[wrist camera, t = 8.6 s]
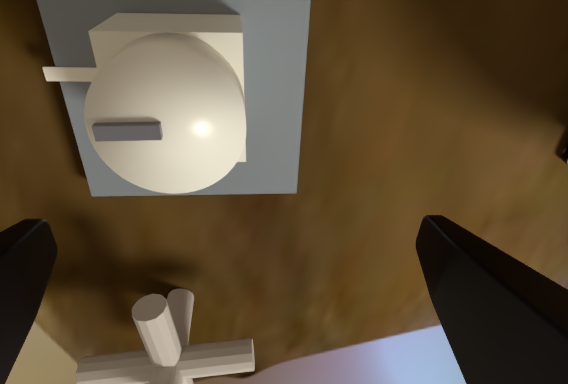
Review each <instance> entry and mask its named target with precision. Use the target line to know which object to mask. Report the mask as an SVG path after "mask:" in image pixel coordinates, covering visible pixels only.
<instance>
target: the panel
mask: <svg viewBox="0 0 568 384" xmlns="http://www.w3.org/2000/svg"><path fill="white" fill-rule="evenodd" d="M310 2H311V0H37V3H38V7H39V11H40V14H41V18H42V21H43V25H44V28H45V32H46V35H47V39H48V42H49V46H50V49H51V53H52V57H53V60H54V64H55V67H42V68H43V71H44V75H45V78H46V81H60V85H61V88H62V92H63V95H64V99H65V103H66V106H67V110H68V113H69V117H70V120H71V124H72V127H73V131H74V134H75V138H76V142H77V145H78V149H79V152H80V156H81V159H82V163H83V166H84V170H85V173H86V177H87V180H88V184H89V188H90V191H91V195H92V196H147V195H212V194H276V193H296V192H297V178H298V165H299V151H300V138H301V124H302V110H303V97H304V83H305V70H306V56H307V42H308V29H309V15H310ZM116 13H163V14H226V15H241V23H242V31H243V63H244V101H245V115H246V162H237V163H236V164H235V166H234V167H233V168H232V169H231V170H230V171H229V173H228V174H227V175H225V176H224V177H223V178H222V179H221V180H219V181H217V182H216V183H214V184H213V185H210V186H208V187H206V188H204V189H201V190H198V191H193V192H189V193H179V194H170V193H160V192H155V191H151V190H147V189H144V188H141V187H139V186H137V185H134V184H132V183H130V182H129V181H127V180H125V179H123V178H122V177H121V176H119V175H118V174H116V173H115V172H114V171H113V170H112V169H111V168H109V167H108V166H107V165H106V164H105V162H104V161H103V160H102V159H101V158H100V156H99V155H98V153H97V152H96V151H95V149H94V147H93V145H92V143H91V141H90V139H89V136H88V133H87V130H86V126H85V121H84V105H85V99H86V95H87V91H88V89H89V87H90V85H91V82H92V81H93V79H94V78H95V76H96V75H97V73H98V70H97V66H96V62H95V58H94V53H93V49H92V45H91V41H90V37H89V32H88V31H89V30H91V29H93V28H94V27H96V26H97V25H99V24H100V23H102V22H104V21H105V20H107V19H108V18H110V17H111V16H113V15H115V14H116Z"/></svg>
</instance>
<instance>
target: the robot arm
mask: <svg viewBox="0 0 568 384" xmlns="http://www.w3.org/2000/svg"><path fill="white" fill-rule="evenodd" d="M563 161H564V162H565V163H566V164H568V148H567V150H566V152H565V154H564V156H563ZM416 250H417V254H418V257H419V261H420V264H421V267H422V271H423V274H424V277H425V281H426V284H427V288H428V291H429V294H430V297H431V300H432V303H433V306H434V308H435V311H436V313H437V315H438V318H439V320H440V322H441V325H442V327H443V330H444V332H445V334H446V336H447V339H448V341H449V344H450V346H451V348H452V351H453V353H454V355H455V358H456V360H457V363H458V365H459V367H460V369H461V372H462V374H463V377H464V379H465V381H466V383H467V384H568V290H567V289H566V288H564V287H562V286H561V285H559V284H557V283H556V282H554V281H552V280H550V279H549V278H547V277H545V276H544V275H542V274H540V273H539V272H537V271H535V270H534V269H532V268H530V267H528V266H527V265H525V264H523V263H522V262H520V261H518V260H517V259H515V258H513V257H512V256H510V255H508V254H506V253H505V252H503V251H501V250H500V249H498V248H496V247H495V246H493V245H491V244H490V243H488V242H486V241H485V240H483V239H481V238H479V237H478V236H476V235H474V234H473V233H471V232H469V231H468V230H466V229H464V228H463V227H461V226H459V225H458V224H456V223H454V222H452V221H451V220H449V219H447V218H446V217H444V216H442V215H427V216H425V217H424V218H423V220H422V223H421V226H420V229H419V232H418V236H417V239H416ZM56 257H57V244H56V242H55V239H54V236H53V234H52V231H51V228H50V225H49V223H48V222H47V221H46V220H45V219H24V220H22V221H20V222H19V223H17V224H15V225H13V226H11V227H9V228H7V229H5V230H4V231H2V232H0V384H5V382H6V380H7V378H8V376H9V374H10V371H11V369H12V367H13V365H14V363H15V361H16V359H17V357H18V355H19V352H20V350H21V348H22V346H23V344H24V342H25V340H26V337H27V335H28V333H29V331H30V329H31V326H32V325H33V322H34V320H35V318H36V315H37V313H38V310H39V308H40V305H41V302H42V299H43V296H44V293H45V290H46V287H47V284H48V281H49V278H50V275H51V272H52V269H53V266H54V263H55V260H56Z"/></svg>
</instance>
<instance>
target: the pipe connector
mask: <svg viewBox="0 0 568 384" xmlns="http://www.w3.org/2000/svg"><path fill="white" fill-rule="evenodd" d="M193 303H194V295H193V293H192V292H190V291H189V290H186V289H174V290H172V291H171V292H170V293H169V294H168V297H167V300H166V298H164V297H163V296H162V295H160V294H150V295H147V296H144V297H142V298H141V299H140V300H138V301H137V302H136V303H135V305H134V306H133V308H132V317H133V319H134V322H135V324H136V327H137V329H138V331H139V334H140V336H141V339H142V341H143V343H144V346H145V348H146V350H142V351H133V352H124V353H115V354H106V355H97V356H88V357H84V358H82V359H81V361H80V362H79V364H78V368H77V372H76V383H77V384H145V383H150V384H194V383H193V380H192V378H197V377H205V376H214V375H222V374H231V373H240V372H248V371H254V370H255V361H254V347H253V340H252V338H249V339H240V340H231V341H222V342H213V343H204V344H195V345H188V340H189V333H190V325H191V318H192V310H193Z"/></svg>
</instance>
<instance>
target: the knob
mask: <svg viewBox="0 0 568 384" xmlns="http://www.w3.org/2000/svg"><path fill="white" fill-rule="evenodd" d="M88 32H89V37H90V41H91V45H92V49H93V53H94V58H95V62H96V66H97V70H98V73H97V75H96V76H95V78H94V79H93V81H92V82H91V85H90V87H89V89H88V91H87V95H86V99H85V105H84V121H85V126H86V130H87V133H88V136H89V139H90V141H91V143H92V145H93V147H94V149H95V151H96V152H97V153H98V155H99V156H100V158H101V159H102V160H103V161H104V162H105V164H106V165H107V166H108V167H109V168H111V169H112V170H113V171H114V172H115V173H116V174H118V175H119V176H121V177H122V178H123V179H125V180H127V181H129V182H130V183H132V184H134V185H137V186H139V187H141V188H144V189H147V190H151V191H155V192H160V193H170V194H179V193H189V192H193V191H198V190H201V189H204V188H206V187H208V186H210V185H213V184H214V183H216V182H217V181H219V180H221V179H222V178H223V177H224V176H225V175H227V174H228V173H229V171H230V170H231V169H232V168H233V167H234V166H235V164H236V163H237V162H246V115H245V101H244V63H243V31H242V23H241V15H226V14H163V13H116V14H115V15H113V16H111V17H110V18H108V19H107V20H105V21H104V22H102V23H100V24H99V25H97V26H96V27H94V28H93V29H91V30H89V31H88Z"/></svg>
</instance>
